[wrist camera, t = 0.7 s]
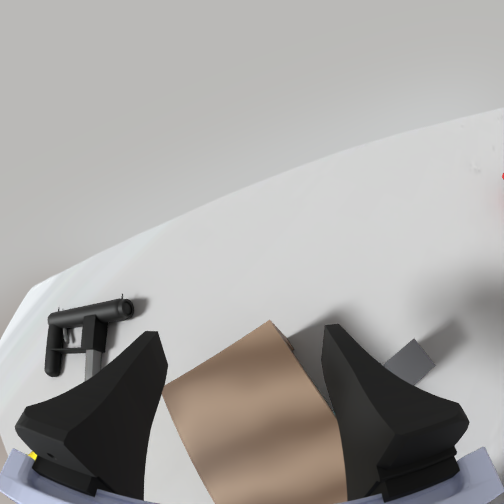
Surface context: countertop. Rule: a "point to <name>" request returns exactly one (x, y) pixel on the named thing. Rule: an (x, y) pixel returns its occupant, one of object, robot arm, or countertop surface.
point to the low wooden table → (259, 425)
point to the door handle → (83, 333)
